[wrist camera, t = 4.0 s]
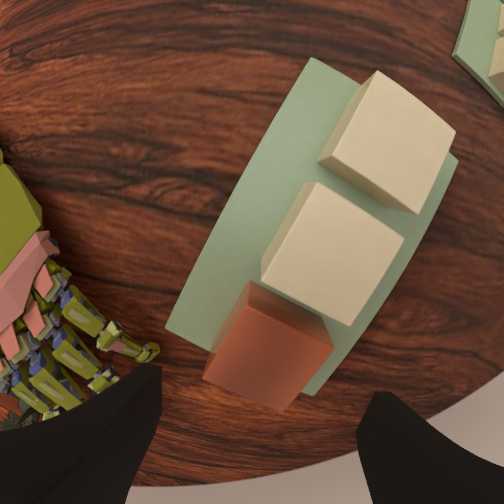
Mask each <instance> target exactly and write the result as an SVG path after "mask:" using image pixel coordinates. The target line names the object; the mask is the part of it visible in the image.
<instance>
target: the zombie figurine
mask: <svg viewBox="0 0 504 504" xmlns="http://www.w3.org/2000/svg"><path fill="white" fill-rule="evenodd" d="M12 387H13V385H12V382H11V381H10V379H8V378H6V377H4V376H3V377H0V392H2V393H4V394H9V395H11V396H14V397H16V398H18V407H19V408H20V410H21V411H22V412H23V414H22V415H21V416H20V417H16V415H15V414H14V413H12V412H11V411H9V412H10V413H11V415H12V416H13V417H12V416H11V415H10V414H9V412H8V415H7V417H8V419H6V418H5V420H4V419H3V422H4V423H3V422H2V421H0V424H2V427H3V428H2V427H1V426H0V429H1V430H2V431H6V430H11V429H16V428H20V427H22V426H23V425H25V424H29V425H30V424H34V423H37V422H38V420H39V416H40V415H39V412H38V411H37V410H36V409H34V408H33V407H31V406H30V405H29V404H27V403H26V402H25V401H23V400H22V399H21V398H19V397H18V396H17V395H15V394H14V392H13V391H12V390H11V388H12ZM10 418H11V419H12V420H13V421H14V422H13V421H12V420H11V419H10Z"/></svg>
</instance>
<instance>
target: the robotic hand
mask: <svg viewBox="0 0 504 504" xmlns="http://www.w3.org/2000/svg"><path fill="white" fill-rule="evenodd" d="M49 236H50V232H49V231H43V218H42V207H41V206H40V205H39V204H38V202H37V201H36V200H35V198H34V197H33V196H32V194H31V193H30V192H29V190H28V189H27V188H26V186H25V185H24V184H23V182H22V181H21V180H20V178H19V177H18V175H17V174H16V172H15V171H14V170H13V168H12V167H11V166H9V165H7V164H3V153H2V151H1V148H0V377H3V376H4V377H6V378H8V379H10V381H11V382H12V385H13V387H12V388H11V390H12V391H13V392H14V394H15V395H17V396H18V397H19V398H21V399H22V400H23V401H25V402H26V403H27V404H29V405H30V406H31V407H33V408H34V409H36V410H37V411H38V412H40V413H41V414H42V413H43V419H42V420H46V419H49V418H52V417H54V416H57V415H59V414H61V413H64V412H66V411H68V410H70V409H72V408H74V407H76V406H78V405H80V404H81V403H82V402H80V401H81V400H84V399H85V400H86V399H87V395H86V394H85V393H84V392H83V391H82V389H81V388H80V387H79V386H78V385H77V383H76V382H75V381H74V380H73V379H72V377H71V376H70V375H69V374H68V372H67V371H66V370H65V368H64V367H63V366H62V365H61V363H63V364H64V365H66V366H67V367H69V368H70V369H71V370H73V371H74V372H76V373H78V374H79V375H81V376H82V377H84V378H85V379H87V380H88V379H89V378H91V377H93V379H92V380H90V381H89V382H88V383H89V385H88V387H90V388H91V389H92V391H93V393H94V394H95V393H98V394H99V393H100V392H102V391H103V390H105V389H106V388H108V387H109V386H111V385H112V384H114V383H115V382H117V381H118V380H120V379H121V378H122V377H120V375H119V374H118V373H117V372H116V371H115V369H114V367H113V365H112V366H110V365H107V366H106V367H105V368H104V369H103V370H102V371H101V370H99V368H100V367H102V363H101V362H100V361H99V360H98V359H97V358H96V357H95V356H94V355H93V353H92V352H91V351H90V350H89V349H88V348H87V346H86V345H85V344H84V343H83V342H82V341H81V339H80V338H79V337H78V336H77V334H76V333H75V332H74V331H73V330H72V328H71V327H70V326H69V325H67V324H66V323H65V324H64V325H62V327H61V328H60V329H58V330H57V331H56V329H57V328H56V327H54V326H57V327H59V322H60V318H61V316H62V315H64V317H65V318H66V319H67V320H69V321H70V322H72V323H73V324H74V325H76V326H77V327H79V328H80V329H82V330H83V331H85V332H86V333H88V334H89V335H91V336H92V337H95V336H96V335H97V336H98V333H99V334H100V336H99V338H98V339H97V348H98V350H103V351H106V352H107V351H108V350H109V351H115V352H119V353H122V354H125V355H128V356H132V357H135V358H134V359H135V360H136V362H140V363H144V362H146V363H147V362H149V361H151V360H152V359H153V358H154V357H155V356H156V355H157V354H158V353H159V352H161V351H160V347H159V345H158V344H157V343H153V342H148V344H145V345H144V346H142V347H140V346H139V345H140V344H139V345H138V344H137V342H136V341H135V340H133V339H132V338H131V337H129V336H128V335H127V334H126V333H124V332H123V331H124V329H123V327H122V326H121V325H120V324H119V323H118V322H116V321H115V320H113V321H111V322H110V323H109V325H108V326H107V327H106V329H105V330H102V329H103V328H104V327H105V325H106V322H107V319H106V318H105V317H104V316H103V315H102V314H101V313H100V312H99V311H98V310H97V309H96V308H95V307H94V306H93V305H92V304H91V303H90V302H89V300H88V299H87V298H86V297H85V296H84V295H83V294H82V293H81V292H80V291H79V289H78V288H77V287H76V286H74V285H73V284H72V285H69V289H68V290H67V291H64V287H65V286H66V284H67V282H68V280H69V278H70V277H71V275H72V273H70V272H69V271H68V270H66V269H65V268H64V267H62V268H61V267H60V265H57V263H55V261H56V259H57V258H58V255H59V254H60V253H59V252H60V250H59V249H58V241H57V240H56V239H55V238H54V237H52V238H50V239H49ZM58 296H61V303H55V304H54V301H56V299H57V298H58ZM50 335H53V337H52V338H49V337H50ZM43 338H46V340H47V341H48V342H49V344H50V345H51V346H52V348H53V349H54V351H53V352H52V351H51V350H50V349H49V347H47V346H45V347H44V348H42V349H41V350H39V351H38V352H35V350H36V349H37V348H39V347H40V346H41V344H40V340H42V339H43ZM48 338H49V339H48ZM136 355H137V356H136ZM26 357H28V358H29V357H30V359H28V360H27V361H26V362H24V361H23V360H24V359H25V358H26ZM59 361H60V362H61V363H60V362H59ZM98 370H99V371H98ZM53 401H54V402H56V403H57V404H58V405H56V406H55V407H51V408H49V406H50V405H52V406H54V404H55V403H54V402H53Z"/></svg>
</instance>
